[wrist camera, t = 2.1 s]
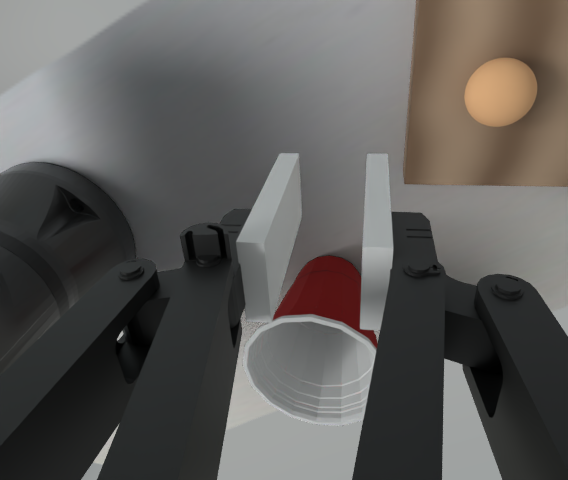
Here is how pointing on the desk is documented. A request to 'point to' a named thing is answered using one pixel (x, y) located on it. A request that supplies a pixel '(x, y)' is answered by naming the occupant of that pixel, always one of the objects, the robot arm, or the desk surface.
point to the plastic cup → (315, 348)
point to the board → (451, 89)
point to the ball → (500, 92)
